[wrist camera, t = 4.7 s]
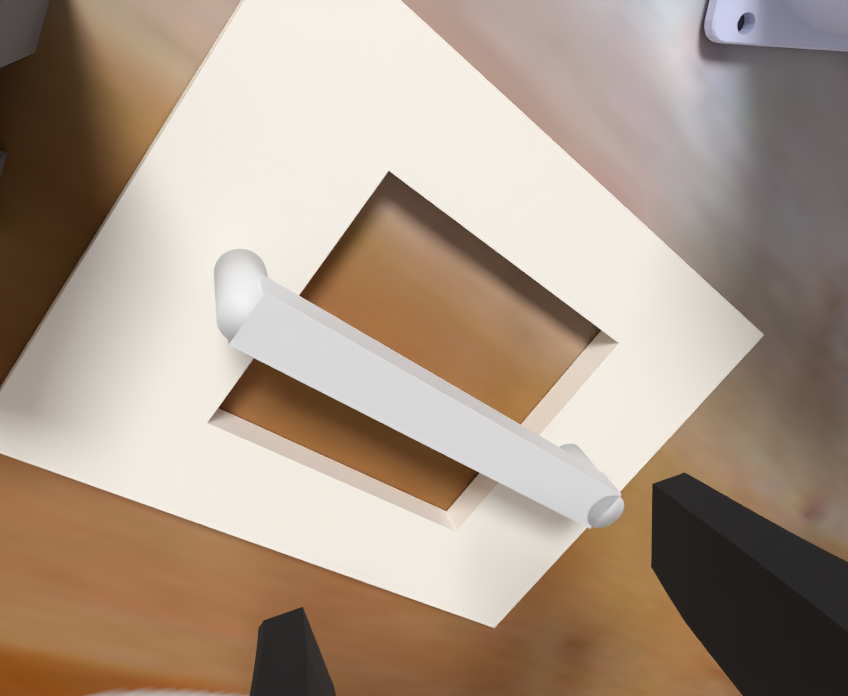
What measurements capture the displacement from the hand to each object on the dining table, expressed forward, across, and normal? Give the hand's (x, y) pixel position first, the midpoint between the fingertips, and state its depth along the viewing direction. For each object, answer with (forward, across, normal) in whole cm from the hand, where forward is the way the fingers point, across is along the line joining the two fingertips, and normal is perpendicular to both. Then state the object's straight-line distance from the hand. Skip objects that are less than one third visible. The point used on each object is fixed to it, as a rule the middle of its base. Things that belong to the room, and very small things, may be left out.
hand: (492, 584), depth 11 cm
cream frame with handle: (+9, -1, +1) cm, 9 cm away
